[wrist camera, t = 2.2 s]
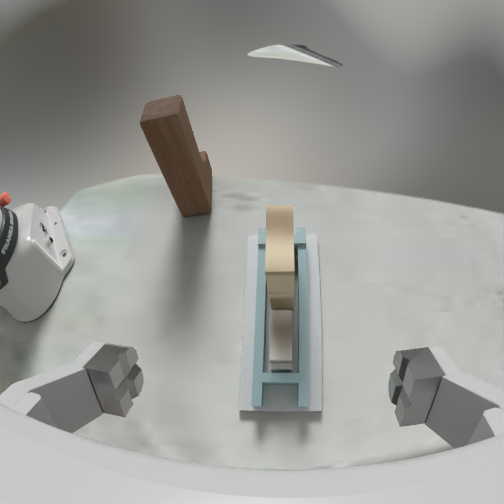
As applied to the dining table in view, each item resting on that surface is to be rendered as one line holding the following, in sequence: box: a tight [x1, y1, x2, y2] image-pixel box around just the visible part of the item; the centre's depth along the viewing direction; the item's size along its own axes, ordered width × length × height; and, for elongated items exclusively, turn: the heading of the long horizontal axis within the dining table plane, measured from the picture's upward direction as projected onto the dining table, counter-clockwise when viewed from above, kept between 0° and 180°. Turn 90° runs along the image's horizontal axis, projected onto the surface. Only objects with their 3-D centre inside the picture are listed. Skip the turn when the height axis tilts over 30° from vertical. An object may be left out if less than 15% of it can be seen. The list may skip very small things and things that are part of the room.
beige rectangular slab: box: [265, 205, 294, 312], centre depth 33 cm, size 7×2×11 cm, turn 177°
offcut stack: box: [270, 310, 292, 372], centre depth 33 cm, size 6×2×4 cm, turn 177°
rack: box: [238, 228, 322, 412], centre depth 35 cm, size 22×9×4 cm, turn 177°
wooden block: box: [140, 95, 212, 217], centre depth 40 cm, size 9×4×18 cm, turn 4°
